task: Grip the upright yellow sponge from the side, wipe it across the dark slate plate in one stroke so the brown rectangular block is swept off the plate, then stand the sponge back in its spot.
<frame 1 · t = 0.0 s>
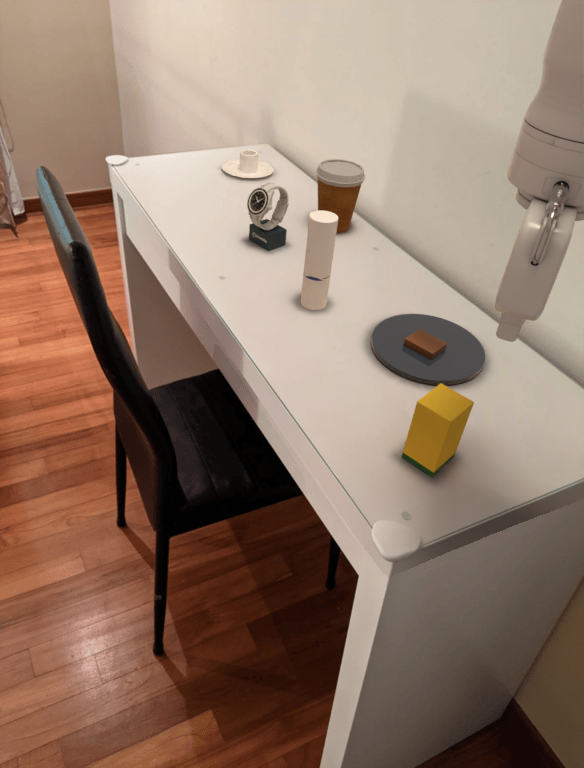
hand: (514, 311, 58), 23 cm above the table, tool pointing down, fingers open, 8 cm apart
sponge: (427, 456, 75), on the table
tube: (313, 304, 100), on the table
plate: (426, 350, 92), on the table
brown rectangular block: (424, 347, 91), point 1 cm above the table, touching plate
watch: (266, 243, 115), on the table
candle holder: (247, 172, 142), on the table
disposable coffee cup: (333, 227, 123), on the table
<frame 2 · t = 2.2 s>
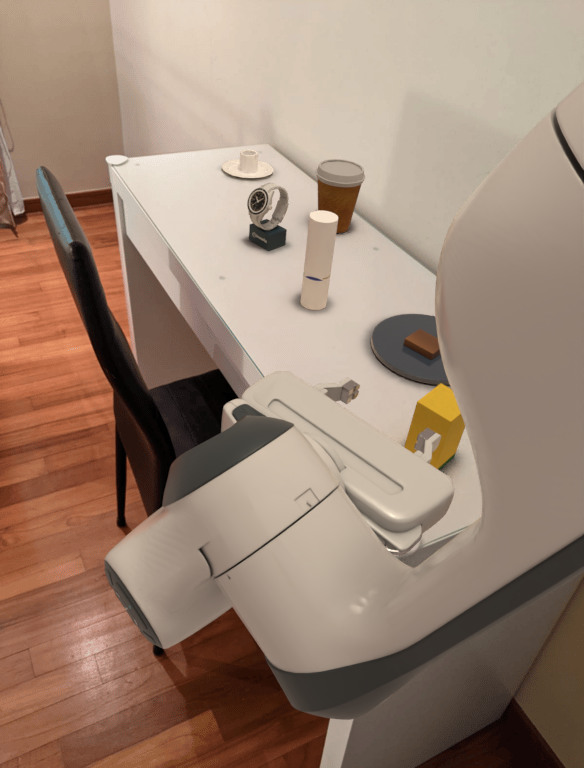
hand: (391, 410, 58), 15 cm above the table, tool horizontal, fingers open, 8 cm apart
nothing on the table moved.
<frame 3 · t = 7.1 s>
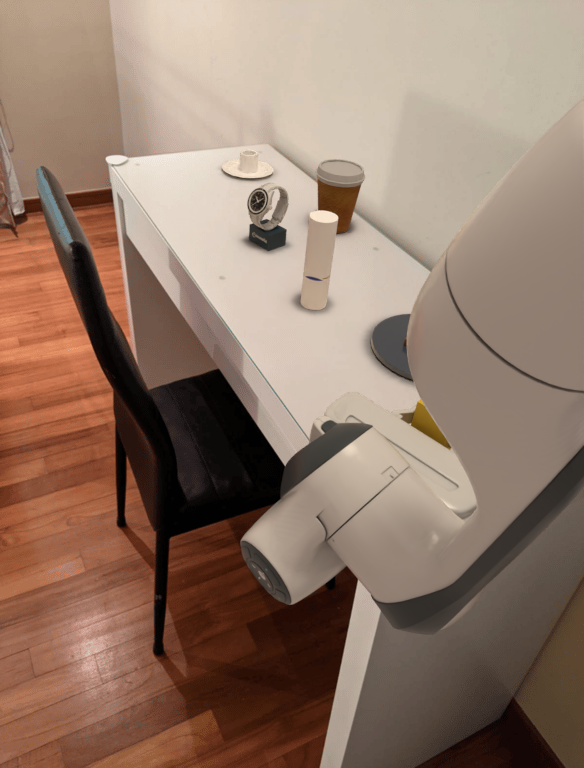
hand: (441, 423, 72), 5 cm above the table, tool horizontal, fingers closed on sponge, 4 cm apart
sponge: (428, 456, 75), on the table, touching gripper
everything else where it was.
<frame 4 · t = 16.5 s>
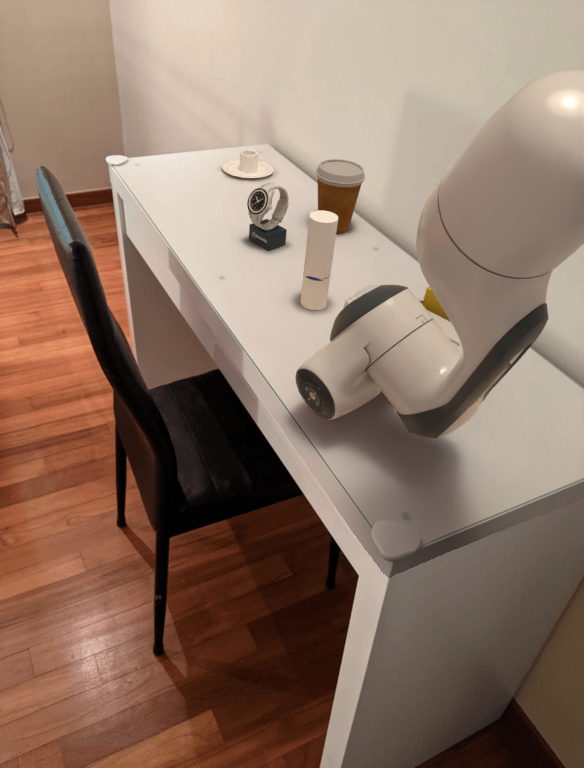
hand: (445, 309, 90), 6 cm above the table, tool horizontal, fingers closed on sponge, 4 cm apart
sponge: (434, 340, 93), point 1 cm above the table, touching brown rectangular block, gripper
brown rectangular block: (450, 329, 95), point 1 cm above the table, touching sponge
everything else where it was.
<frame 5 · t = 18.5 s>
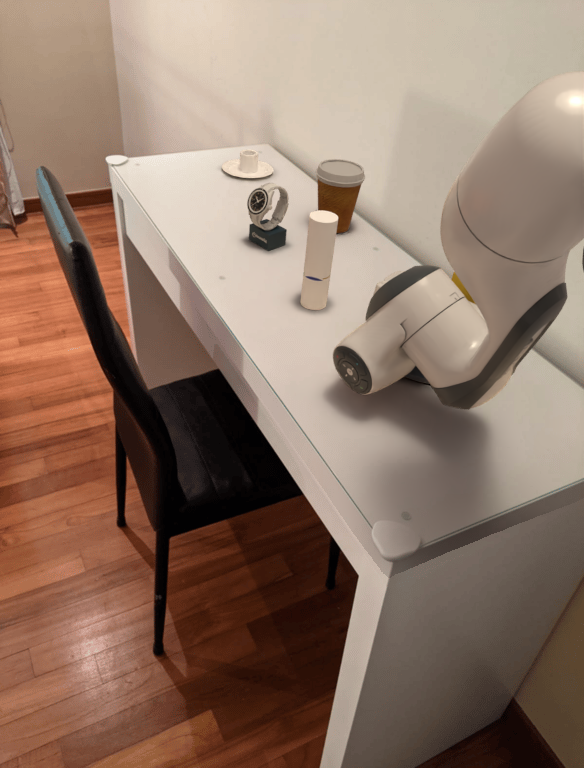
hand: (470, 294, 94), 6 cm above the table, tool horizontal, fingers closed on sponge, 4 cm apart
sponge: (459, 323, 97), point 1 cm above the table, touching brown rectangular block, gripper
brown rectangular block: (471, 318, 100), on the table, touching sponge
everything else where it was.
when the fingers open (5 cm above the table, at t = 28.2 s): sponge stays where it is, on the table.
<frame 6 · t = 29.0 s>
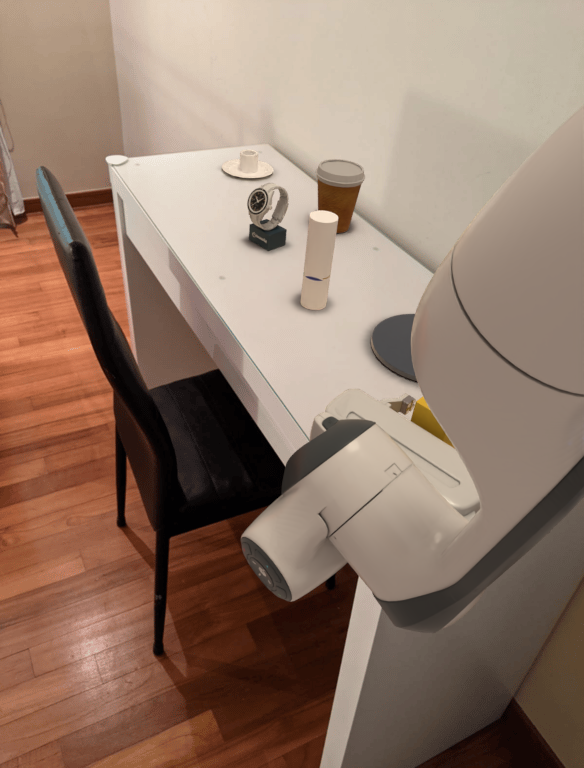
hand: (443, 420, 72), 6 cm above the table, tool horizontal, fingers open, 8 cm apart
sponge: (426, 457, 75), on the table
brown rectangular block: (472, 319, 100), on the table
everything else where it was.
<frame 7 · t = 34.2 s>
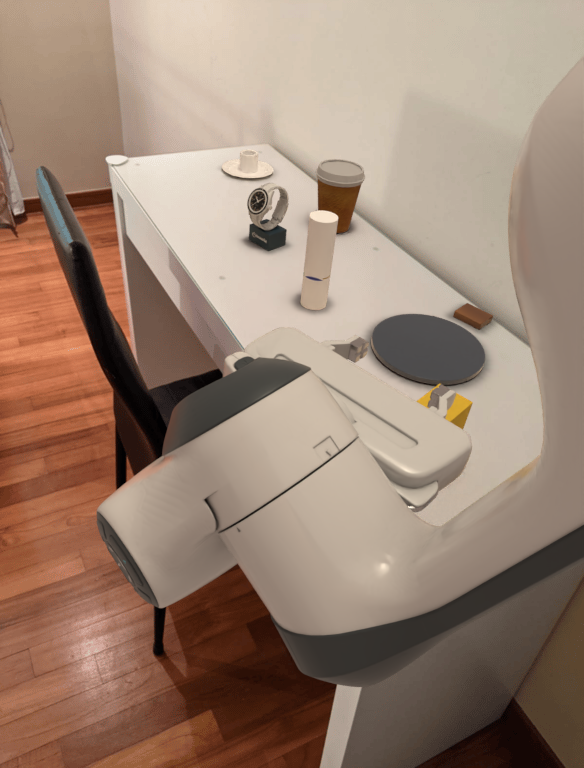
hand: (403, 368, 55), 20 cm above the table, tool horizontal, fingers open, 8 cm apart
nothing on the table moved.
at the end: brown rectangular block touching table; sponge inside the target area (0.1 cm from its centre), on the table; sponge tilted 0° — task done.
